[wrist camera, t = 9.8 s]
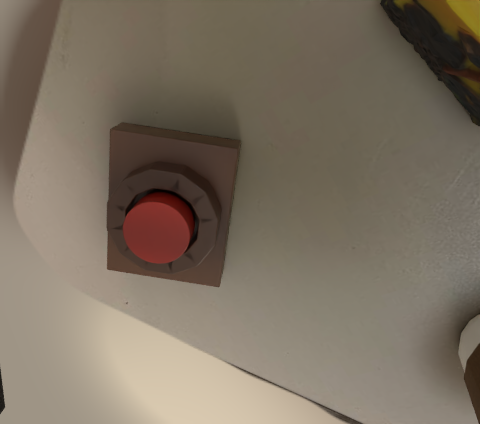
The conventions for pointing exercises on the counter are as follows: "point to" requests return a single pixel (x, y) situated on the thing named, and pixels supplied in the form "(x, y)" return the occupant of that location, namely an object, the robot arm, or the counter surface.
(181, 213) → the button
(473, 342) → the coffee cup
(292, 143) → the counter surface
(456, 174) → the counter surface
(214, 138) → the switch block
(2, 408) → the robot arm
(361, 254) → the counter surface
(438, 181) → the counter surface
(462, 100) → the candle
